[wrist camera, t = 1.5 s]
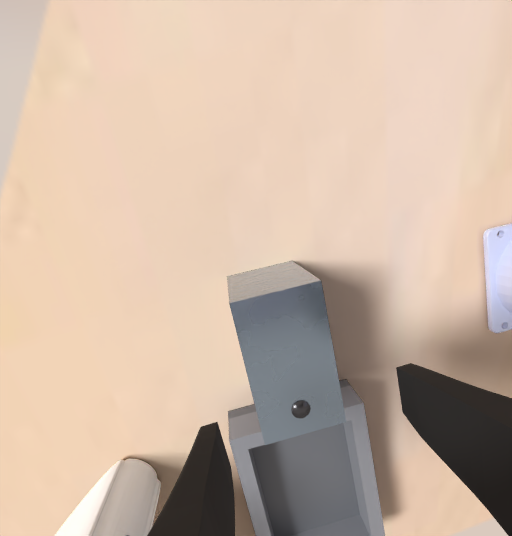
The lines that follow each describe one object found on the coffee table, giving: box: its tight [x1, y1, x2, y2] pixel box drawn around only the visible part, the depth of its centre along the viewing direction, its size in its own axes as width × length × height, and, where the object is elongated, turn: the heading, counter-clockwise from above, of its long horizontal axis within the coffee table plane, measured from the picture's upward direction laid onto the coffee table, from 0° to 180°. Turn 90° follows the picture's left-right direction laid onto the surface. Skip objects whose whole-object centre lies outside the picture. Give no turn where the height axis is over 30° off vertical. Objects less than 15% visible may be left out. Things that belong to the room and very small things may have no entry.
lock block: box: [227, 261, 346, 445], centre depth 18 cm, size 4×8×6 cm, turn 13°
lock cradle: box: [228, 379, 385, 536], centre depth 22 cm, size 9×12×3 cm
